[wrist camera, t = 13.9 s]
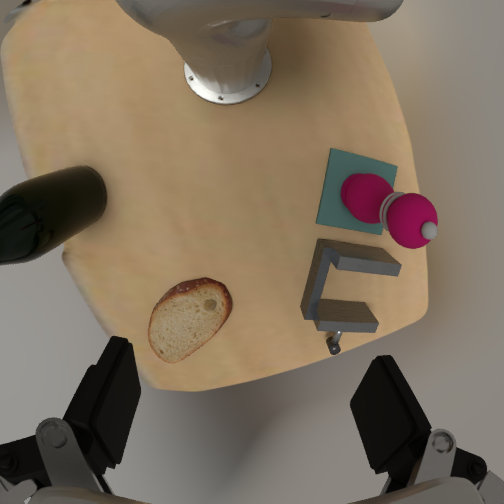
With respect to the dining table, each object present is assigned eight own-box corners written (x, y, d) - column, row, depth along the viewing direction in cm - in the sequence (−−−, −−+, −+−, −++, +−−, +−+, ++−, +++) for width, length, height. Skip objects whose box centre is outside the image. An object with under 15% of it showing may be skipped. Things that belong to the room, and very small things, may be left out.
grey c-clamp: (317, 238, 44) (330, 255, 38) (382, 248, 45) (401, 264, 39) (292, 334, 51) (298, 359, 45) (350, 337, 52) (362, 359, 46)
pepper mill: (371, 218, 43) (444, 271, 24) (332, 209, 42) (395, 262, 23) (382, 176, 40) (466, 207, 21) (343, 164, 39) (418, 187, 21)
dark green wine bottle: (115, 215, 41) (-33, 337, 11) (71, 231, 42) (-61, 339, 11) (97, 155, 38) (-83, 208, 7) (53, 178, 38) (-100, 245, 8)
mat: (330, 148, 39) (331, 148, 38) (395, 166, 40) (397, 166, 39) (315, 222, 43) (316, 223, 43) (379, 233, 44) (381, 235, 44)
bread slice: (159, 359, 53) (155, 371, 50) (129, 285, 47) (122, 296, 43) (243, 352, 53) (243, 365, 50) (226, 273, 46) (225, 284, 43)
